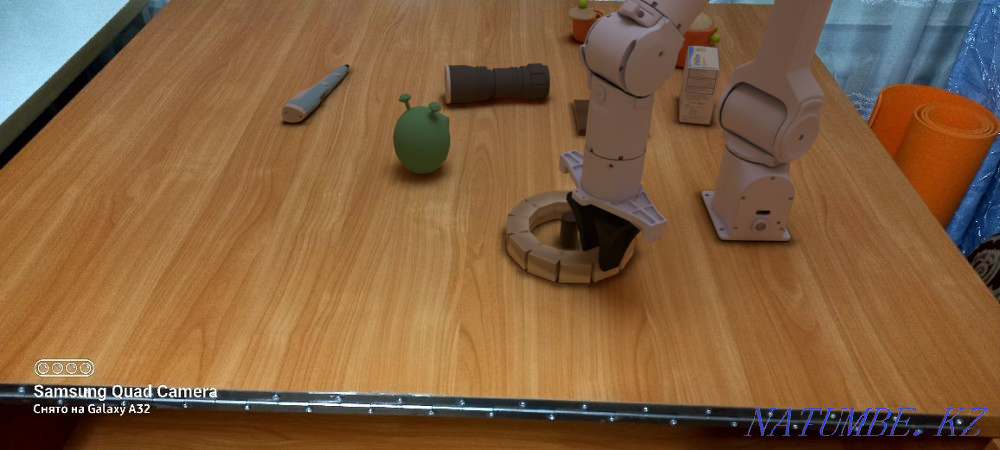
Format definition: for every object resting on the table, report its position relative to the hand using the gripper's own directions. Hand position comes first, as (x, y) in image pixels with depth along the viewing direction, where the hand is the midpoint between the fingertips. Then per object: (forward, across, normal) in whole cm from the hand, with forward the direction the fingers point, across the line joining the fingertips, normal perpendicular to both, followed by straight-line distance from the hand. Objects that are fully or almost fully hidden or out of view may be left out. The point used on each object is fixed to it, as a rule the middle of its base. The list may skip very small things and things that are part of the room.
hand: (600, 259), depth 77 cm
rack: (+2, -27, +22) cm, 34 cm away
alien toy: (+2, -27, -7) cm, 28 cm away
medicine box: (+2, -23, +34) cm, 41 cm away
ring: (+2, -6, 0) cm, 6 cm away
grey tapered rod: (+2, -53, -12) cm, 54 cm away
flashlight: (+2, -40, +11) cm, 42 cm away
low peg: (+2, -6, 0) cm, 6 cm away
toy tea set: (+2, -45, +42) cm, 62 cm away
